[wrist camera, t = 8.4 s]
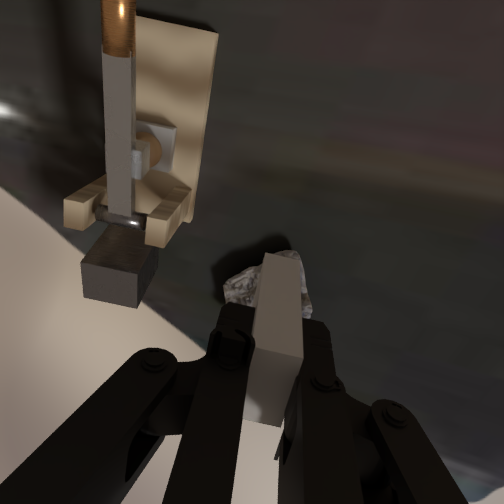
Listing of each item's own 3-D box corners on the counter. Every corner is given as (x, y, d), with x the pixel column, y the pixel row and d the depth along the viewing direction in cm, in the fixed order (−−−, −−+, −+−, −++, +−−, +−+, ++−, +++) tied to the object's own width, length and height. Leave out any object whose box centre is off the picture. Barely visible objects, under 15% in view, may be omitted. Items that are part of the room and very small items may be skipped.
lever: (98, -59, 33) (49, -62, 27) (172, -43, 33) (140, -43, 27) (110, 257, 52) (83, 297, 46) (157, 267, 52) (137, 308, 46)
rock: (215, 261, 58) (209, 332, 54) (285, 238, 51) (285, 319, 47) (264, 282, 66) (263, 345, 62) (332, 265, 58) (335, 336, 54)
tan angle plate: (120, 12, 45) (60, -6, 33) (218, 33, 45) (193, 23, 33) (110, 201, 55) (60, 239, 43) (192, 218, 55) (165, 261, 43)
